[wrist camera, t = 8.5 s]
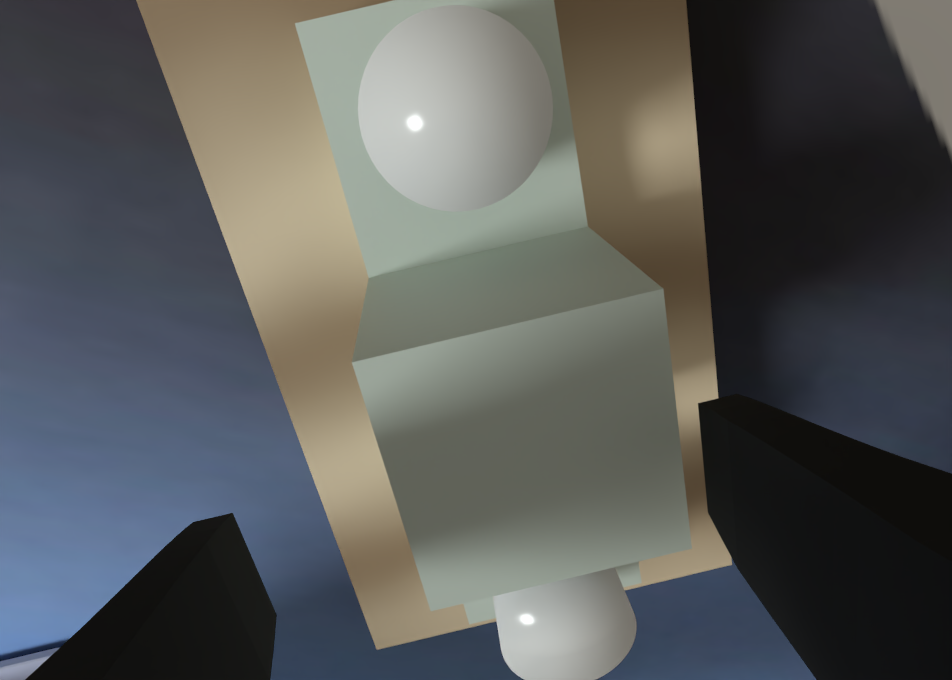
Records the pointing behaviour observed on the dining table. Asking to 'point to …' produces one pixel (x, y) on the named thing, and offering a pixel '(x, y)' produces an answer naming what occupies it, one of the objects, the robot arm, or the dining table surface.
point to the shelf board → (342, 266)
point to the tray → (500, 328)
